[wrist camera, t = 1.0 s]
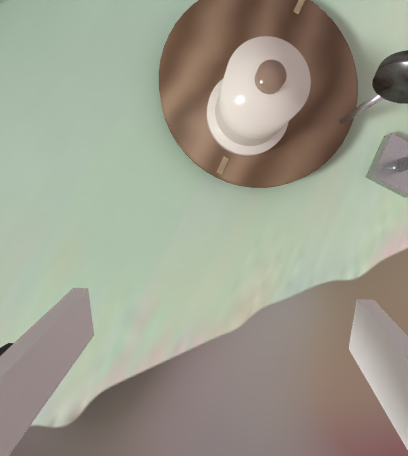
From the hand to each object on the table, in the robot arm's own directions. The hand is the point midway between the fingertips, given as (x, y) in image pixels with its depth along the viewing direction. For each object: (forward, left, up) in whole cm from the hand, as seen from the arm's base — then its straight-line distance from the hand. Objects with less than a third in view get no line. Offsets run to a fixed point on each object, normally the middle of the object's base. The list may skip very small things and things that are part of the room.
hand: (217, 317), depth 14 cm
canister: (-2, +21, -24) cm, 32 cm away
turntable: (-2, +26, -27) cm, 38 cm away
